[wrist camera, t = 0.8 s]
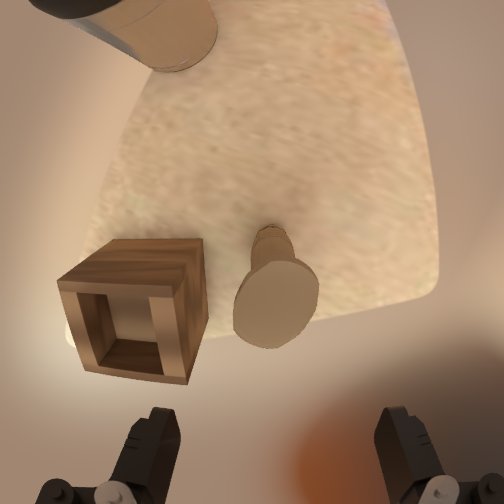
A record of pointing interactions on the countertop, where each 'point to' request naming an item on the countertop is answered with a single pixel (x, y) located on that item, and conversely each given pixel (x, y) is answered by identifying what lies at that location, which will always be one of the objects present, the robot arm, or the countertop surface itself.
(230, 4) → the countertop surface
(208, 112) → the countertop surface
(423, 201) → the countertop surface
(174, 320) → the wooden box
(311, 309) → the handle
